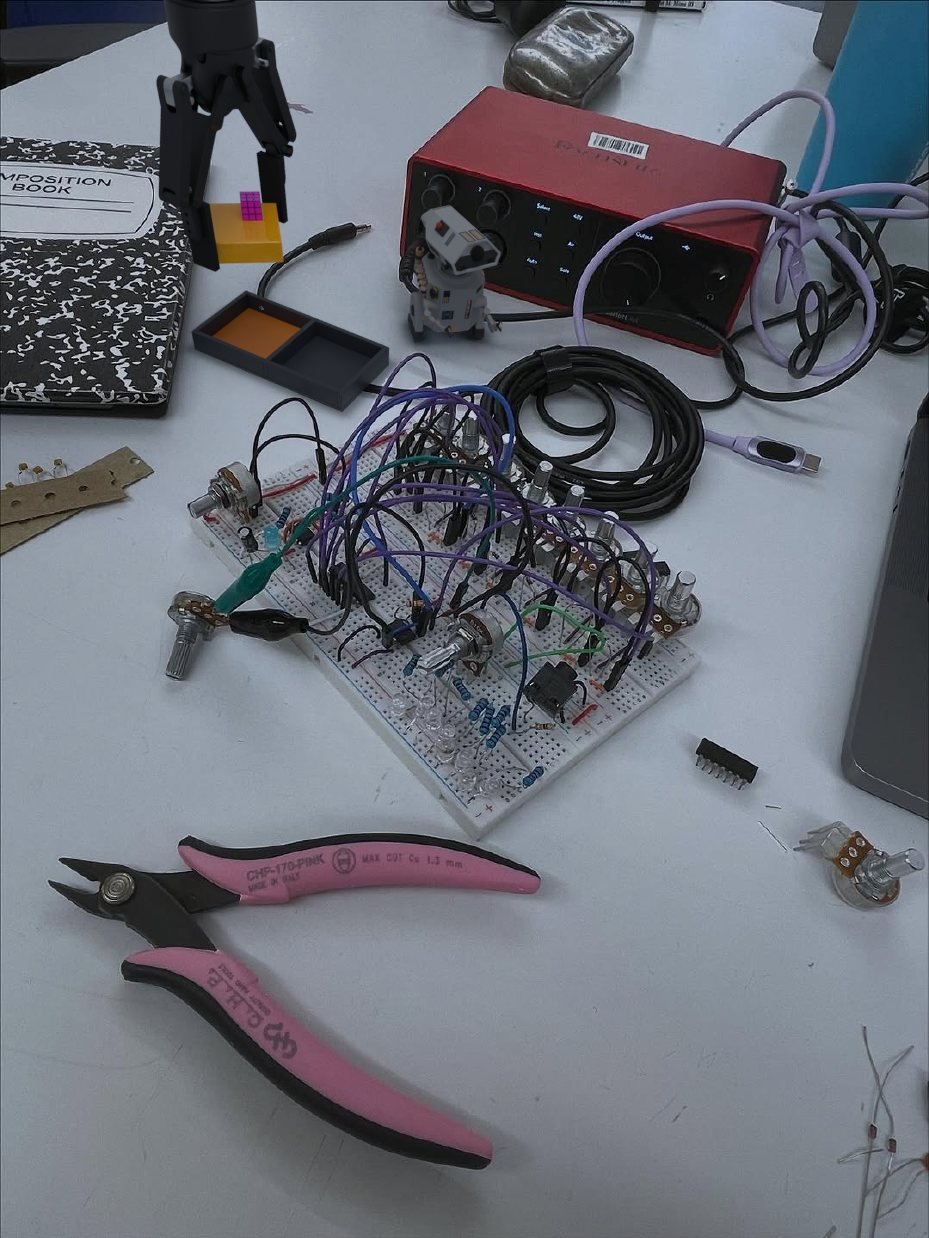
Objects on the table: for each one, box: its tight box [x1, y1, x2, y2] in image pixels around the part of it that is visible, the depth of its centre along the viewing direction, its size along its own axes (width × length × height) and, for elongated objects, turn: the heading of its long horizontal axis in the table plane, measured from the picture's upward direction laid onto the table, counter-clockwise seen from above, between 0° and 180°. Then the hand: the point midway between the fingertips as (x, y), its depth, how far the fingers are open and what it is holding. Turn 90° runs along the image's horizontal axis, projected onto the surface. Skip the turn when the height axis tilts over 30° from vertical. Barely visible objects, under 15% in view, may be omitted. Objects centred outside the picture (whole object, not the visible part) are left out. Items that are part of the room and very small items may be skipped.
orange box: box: [209, 190, 285, 265], centre depth 82 cm, size 8×8×4 cm
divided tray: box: [190, 289, 390, 412], centre depth 92 cm, size 20×10×2 cm, turn 63°
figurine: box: [407, 204, 503, 342], centre depth 92 cm, size 9×12×15 cm
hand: (242, 241), depth 83 cm, fingers closed on orange box, 11 cm apart
